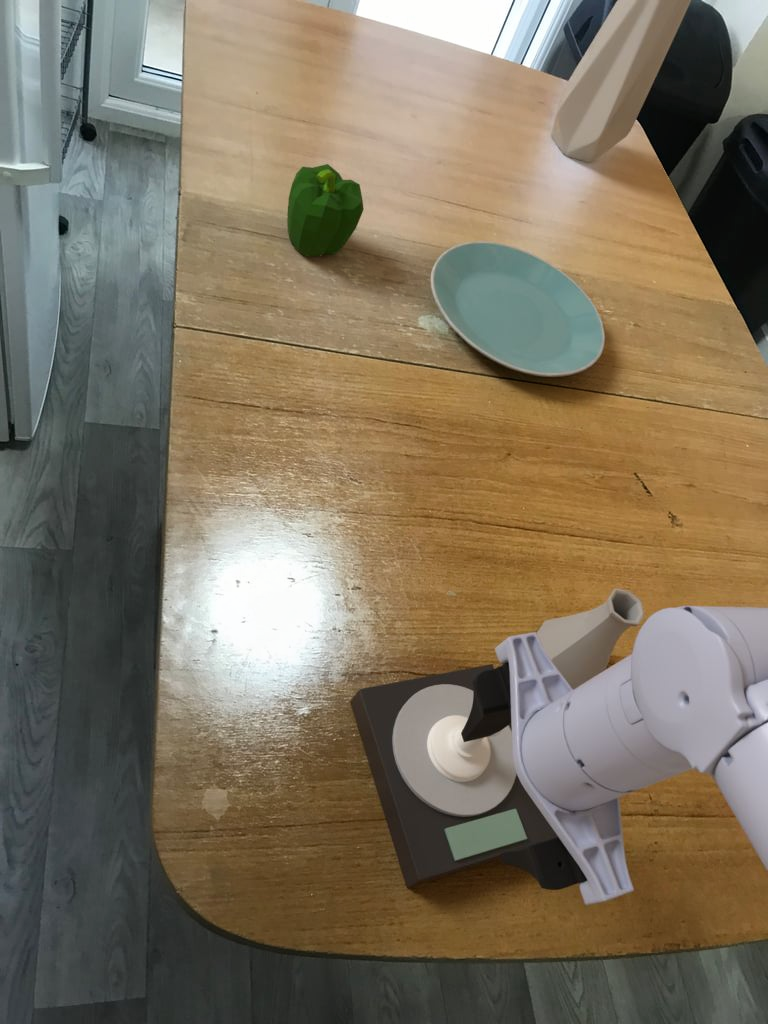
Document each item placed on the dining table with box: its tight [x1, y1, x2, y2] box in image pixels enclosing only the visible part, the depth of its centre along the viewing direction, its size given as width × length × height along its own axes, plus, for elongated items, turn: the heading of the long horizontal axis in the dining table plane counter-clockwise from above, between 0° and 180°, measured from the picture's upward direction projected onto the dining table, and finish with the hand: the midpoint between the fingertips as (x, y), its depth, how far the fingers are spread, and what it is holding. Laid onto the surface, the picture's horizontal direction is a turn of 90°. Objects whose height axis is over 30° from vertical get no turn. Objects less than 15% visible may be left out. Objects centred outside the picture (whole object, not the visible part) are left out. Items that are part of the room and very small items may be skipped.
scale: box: [349, 663, 558, 889], centre depth 64 cm, size 14×12×3 cm
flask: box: [536, 588, 645, 690], centre depth 71 cm, size 7×7×10 cm
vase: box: [550, 0, 692, 164], centre depth 118 cm, size 12×12×33 cm
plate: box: [429, 240, 606, 378], centre depth 99 cm, size 22×22×3 cm
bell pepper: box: [286, 163, 364, 258], centre depth 92 cm, size 8×8×10 cm
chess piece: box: [427, 715, 501, 782], centre depth 59 cm, size 5×5×10 cm
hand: (494, 793), depth 53 cm, fingers open, 7 cm apart
